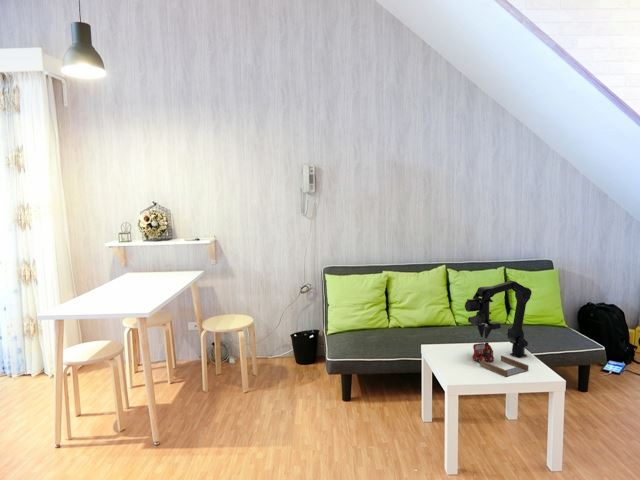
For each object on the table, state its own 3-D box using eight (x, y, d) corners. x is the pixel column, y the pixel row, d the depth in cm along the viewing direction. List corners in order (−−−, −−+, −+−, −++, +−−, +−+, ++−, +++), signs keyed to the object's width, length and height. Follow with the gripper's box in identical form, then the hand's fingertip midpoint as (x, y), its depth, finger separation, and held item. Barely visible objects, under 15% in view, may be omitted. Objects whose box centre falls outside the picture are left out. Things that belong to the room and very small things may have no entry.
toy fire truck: (497, 361, 247) (497, 343, 246) (478, 364, 243) (478, 346, 243) (488, 357, 254) (488, 339, 253) (470, 360, 250) (470, 342, 249)
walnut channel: (502, 360, 248) (502, 355, 248) (528, 370, 233) (528, 365, 233) (480, 366, 241) (480, 360, 241) (505, 377, 226) (505, 371, 225)
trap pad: (516, 367, 238) (516, 367, 237) (526, 371, 232) (526, 370, 232) (498, 372, 232) (498, 371, 232) (507, 376, 226) (507, 375, 226)
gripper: (460, 308, 252) (460, 335, 253) (486, 315, 235) (485, 344, 236) (475, 306, 257) (475, 332, 258) (501, 313, 240) (501, 341, 241)
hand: (483, 337), depth 248 cm, fingers open, 3 cm apart
